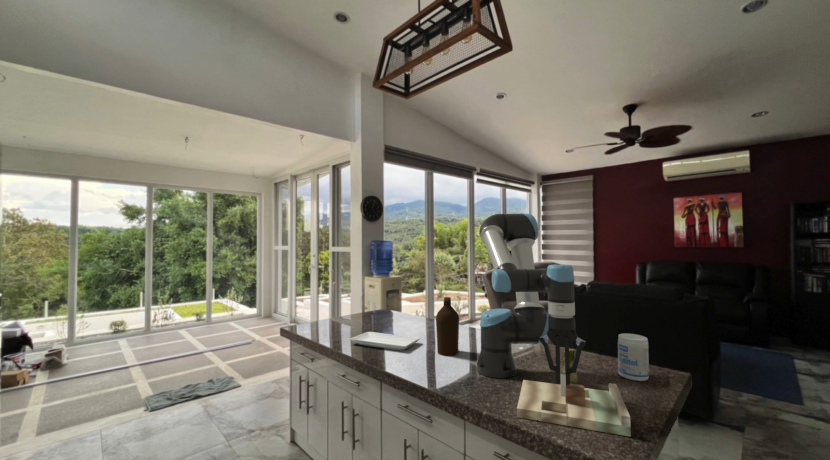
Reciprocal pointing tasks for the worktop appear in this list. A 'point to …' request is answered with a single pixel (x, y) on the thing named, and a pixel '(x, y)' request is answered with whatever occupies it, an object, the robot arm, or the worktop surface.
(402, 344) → the tray
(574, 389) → the block
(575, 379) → the fennel bulb
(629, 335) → the supplement tub
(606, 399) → the board
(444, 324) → the olive oil
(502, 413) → the worktop surface
